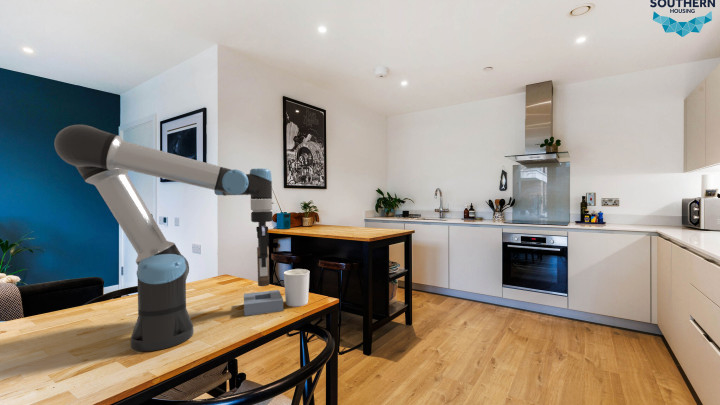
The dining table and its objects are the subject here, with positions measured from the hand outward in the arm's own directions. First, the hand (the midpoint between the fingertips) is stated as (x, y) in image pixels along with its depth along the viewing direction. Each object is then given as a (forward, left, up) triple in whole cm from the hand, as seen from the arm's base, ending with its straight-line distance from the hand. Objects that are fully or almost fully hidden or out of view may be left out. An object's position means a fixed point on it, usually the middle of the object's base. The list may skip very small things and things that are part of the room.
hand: (263, 274), depth 115 cm
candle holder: (+12, 0, -13) cm, 17 cm away
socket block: (0, 0, -12) cm, 12 cm away
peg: (0, 0, -4) cm, 4 cm away
